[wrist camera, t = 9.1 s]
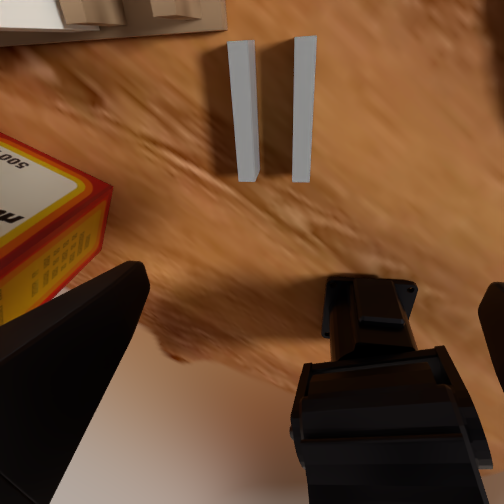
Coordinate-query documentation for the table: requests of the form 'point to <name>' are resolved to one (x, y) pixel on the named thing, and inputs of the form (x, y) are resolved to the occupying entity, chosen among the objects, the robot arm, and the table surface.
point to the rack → (128, 20)
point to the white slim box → (36, 17)
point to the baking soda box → (44, 225)
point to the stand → (247, 113)
